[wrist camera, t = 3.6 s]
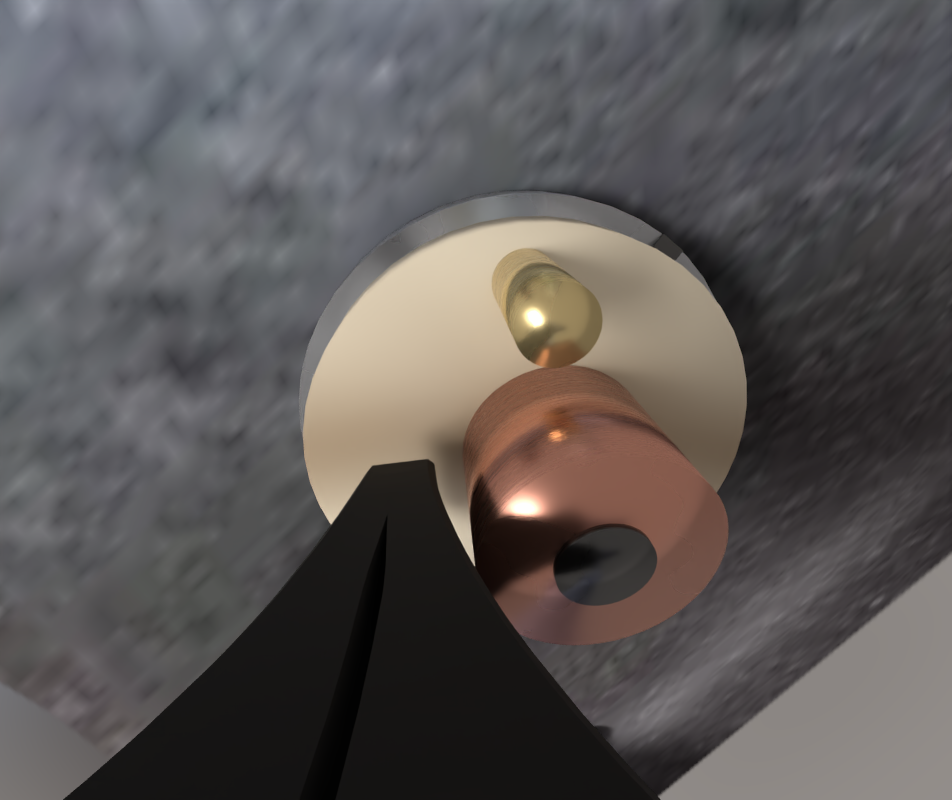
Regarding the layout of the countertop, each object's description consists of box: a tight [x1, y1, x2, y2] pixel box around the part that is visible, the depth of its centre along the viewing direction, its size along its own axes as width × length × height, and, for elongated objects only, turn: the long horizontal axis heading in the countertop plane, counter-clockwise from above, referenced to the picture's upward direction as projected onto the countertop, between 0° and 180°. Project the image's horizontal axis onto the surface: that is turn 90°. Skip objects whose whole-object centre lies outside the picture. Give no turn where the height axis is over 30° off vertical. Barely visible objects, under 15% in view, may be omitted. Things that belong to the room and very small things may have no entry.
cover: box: [462, 365, 729, 645], centre depth 9 cm, size 4×4×3 cm
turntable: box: [303, 216, 747, 566], centre depth 10 cm, size 10×10×4 cm
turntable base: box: [299, 190, 716, 435], centre depth 12 cm, size 10×10×1 cm
